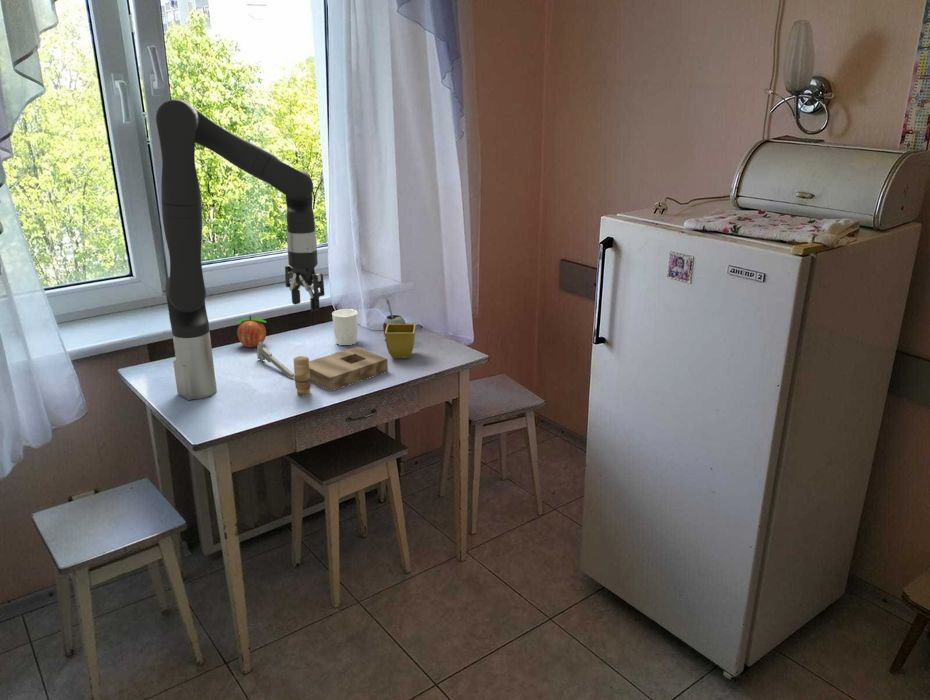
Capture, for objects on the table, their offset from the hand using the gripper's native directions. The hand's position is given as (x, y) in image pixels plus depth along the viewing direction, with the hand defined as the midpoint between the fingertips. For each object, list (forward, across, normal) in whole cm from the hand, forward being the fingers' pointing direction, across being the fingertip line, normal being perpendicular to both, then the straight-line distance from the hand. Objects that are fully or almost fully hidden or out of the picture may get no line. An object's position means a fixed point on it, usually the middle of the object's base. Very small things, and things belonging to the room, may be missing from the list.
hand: (305, 307), depth 203 cm
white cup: (+22, -18, +27) cm, 39 cm away
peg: (+22, +5, -6) cm, 23 cm away
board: (+22, +3, +10) cm, 24 cm away
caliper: (+22, -15, -1) cm, 27 cm away
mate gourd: (+22, -9, +39) cm, 45 cm away
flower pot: (+22, +3, +31) cm, 38 cm away
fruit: (+22, -37, +4) cm, 43 cm away
